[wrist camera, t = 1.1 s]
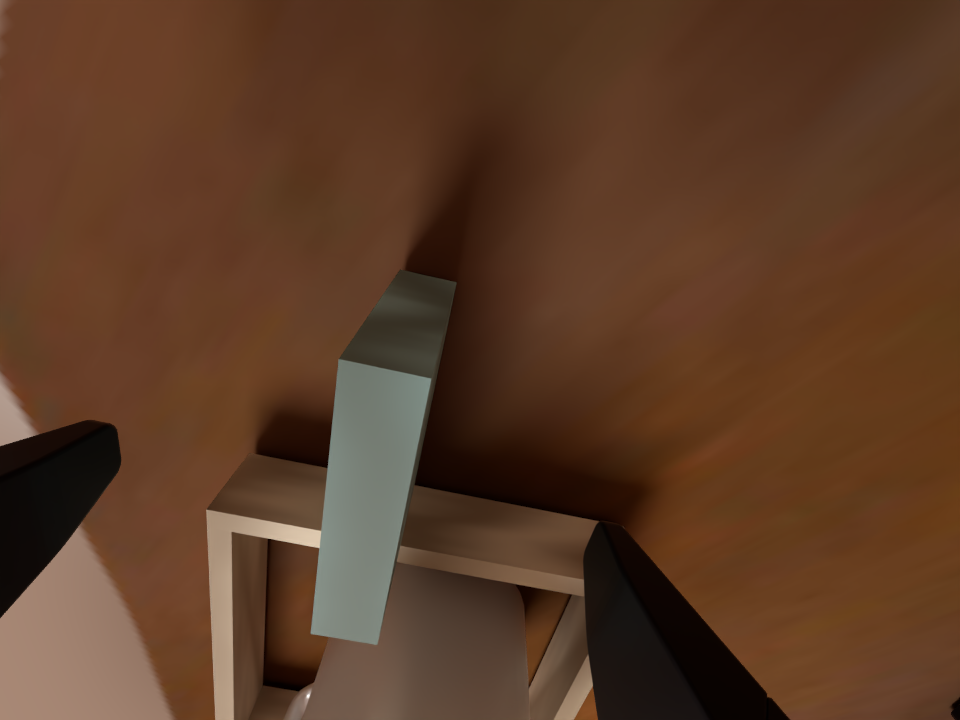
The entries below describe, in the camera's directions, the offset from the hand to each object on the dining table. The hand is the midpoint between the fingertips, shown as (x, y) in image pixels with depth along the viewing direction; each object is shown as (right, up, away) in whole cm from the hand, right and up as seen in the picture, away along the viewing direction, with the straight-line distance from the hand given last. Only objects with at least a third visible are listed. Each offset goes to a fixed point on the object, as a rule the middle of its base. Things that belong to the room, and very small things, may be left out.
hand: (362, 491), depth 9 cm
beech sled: (0, -6, +11) cm, 13 cm away
